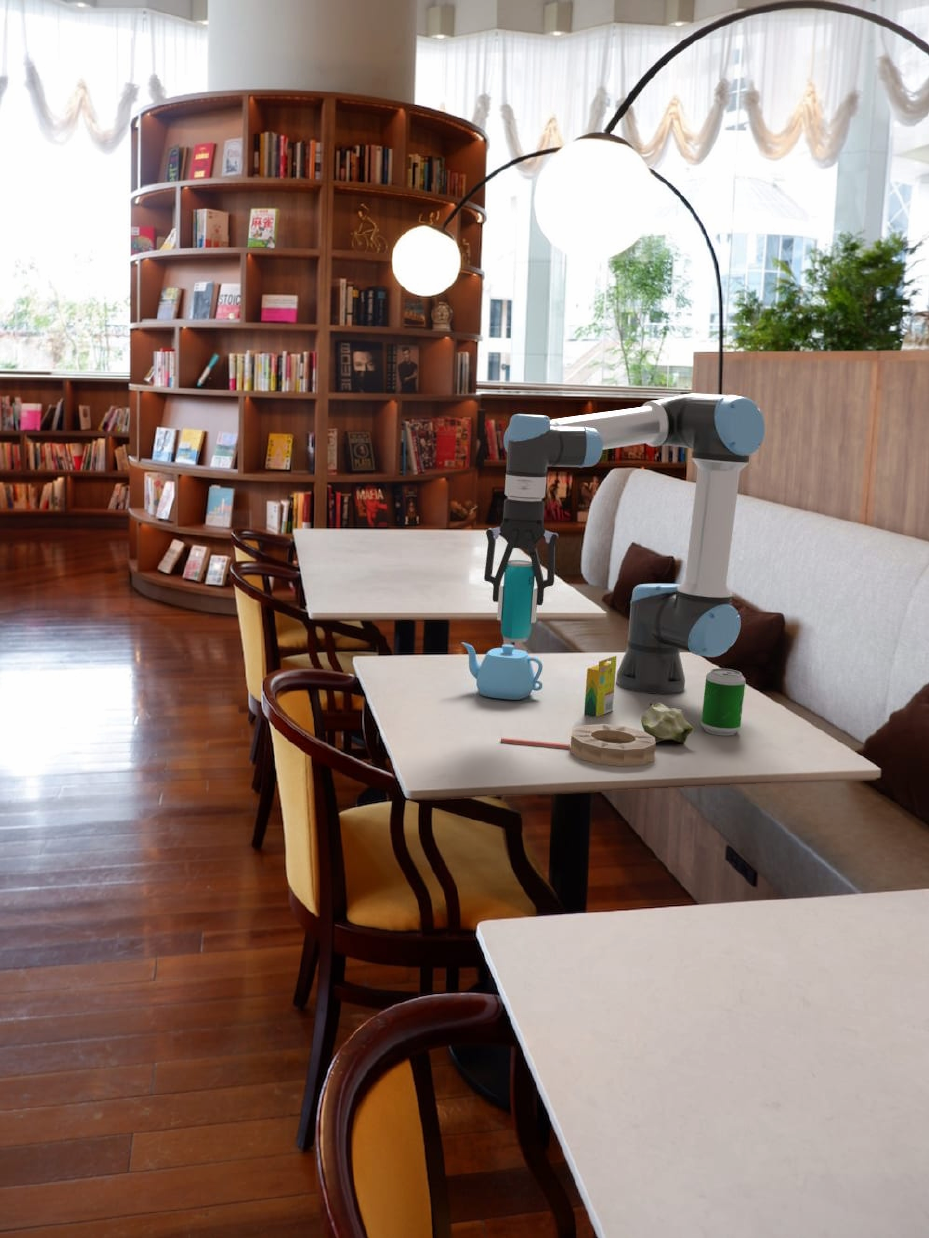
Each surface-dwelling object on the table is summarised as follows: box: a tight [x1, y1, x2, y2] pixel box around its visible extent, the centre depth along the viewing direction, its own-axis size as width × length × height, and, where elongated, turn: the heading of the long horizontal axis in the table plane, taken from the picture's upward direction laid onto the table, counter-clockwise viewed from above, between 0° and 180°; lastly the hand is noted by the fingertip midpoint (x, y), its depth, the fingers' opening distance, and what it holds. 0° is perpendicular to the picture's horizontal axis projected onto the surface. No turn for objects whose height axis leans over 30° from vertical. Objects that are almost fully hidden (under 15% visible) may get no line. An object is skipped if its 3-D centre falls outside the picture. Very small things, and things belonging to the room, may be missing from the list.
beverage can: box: [500, 559, 536, 644], centre depth 226 cm, size 6×6×15 cm
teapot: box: [461, 641, 543, 701], centre depth 251 cm, size 13×11×18 cm
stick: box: [500, 737, 571, 750], centre depth 218 cm, size 1×13×1 cm, turn 83°
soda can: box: [701, 667, 746, 737], centre depth 233 cm, size 8×8×12 cm
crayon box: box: [583, 655, 617, 719], centre depth 241 cm, size 7×3×12 cm, turn 145°
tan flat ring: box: [569, 723, 656, 767], centre depth 216 cm, size 15×15×3 cm
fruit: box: [640, 702, 694, 744], centre depth 225 cm, size 9×9×8 cm
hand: (516, 620), depth 226 cm, fingers closed on beverage can, 6 cm apart
